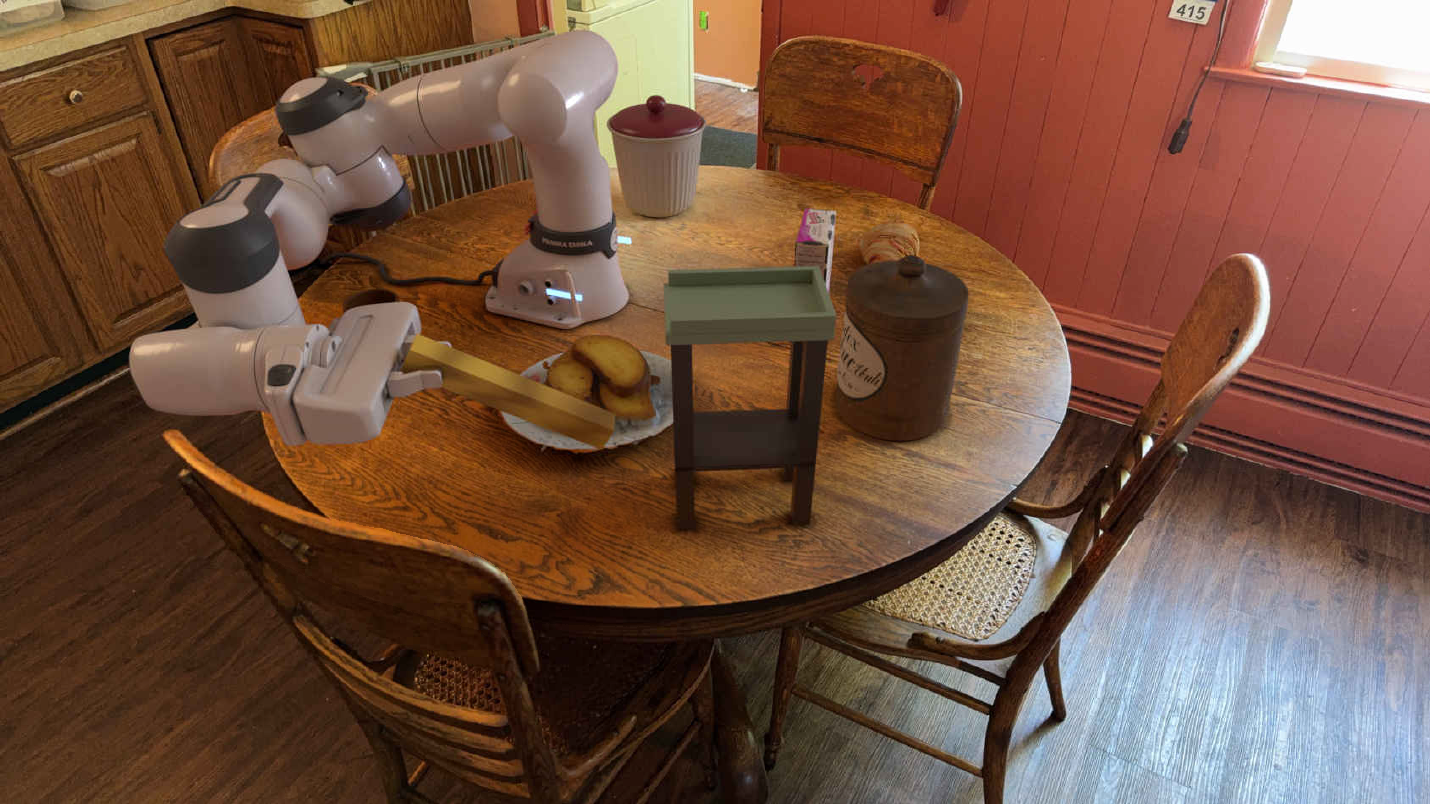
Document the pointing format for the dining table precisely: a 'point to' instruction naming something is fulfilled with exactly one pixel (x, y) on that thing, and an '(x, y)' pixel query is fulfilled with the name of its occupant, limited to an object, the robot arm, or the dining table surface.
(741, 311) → the stand
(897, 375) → the wooden container
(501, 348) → the dining table surface
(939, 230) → the dining table surface
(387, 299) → the mug
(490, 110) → the robot arm
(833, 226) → the candy bar box
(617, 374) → the food on plate
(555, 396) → the batten
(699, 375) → the dining table surface
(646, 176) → the canister
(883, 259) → the croissant
